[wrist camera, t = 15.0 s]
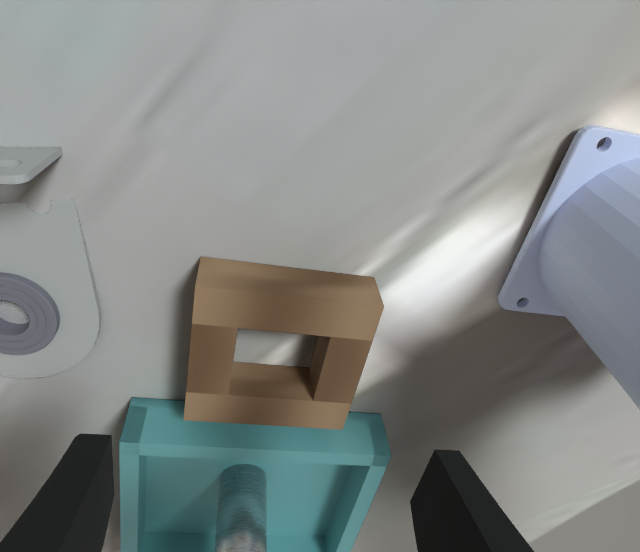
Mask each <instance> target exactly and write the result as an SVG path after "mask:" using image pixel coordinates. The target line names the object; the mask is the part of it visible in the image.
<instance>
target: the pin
mask: <svg viewBox="0 0 640 552" xmlns="http://www.w3.org/2000/svg"><path fill="white" fill-rule="evenodd" d="M214 552H267V494H266V474H265V472H264V471H263V470H262V469H261V468H259V467H257V466H255V465H250V464H238V465H234V466H231V467H229V468H227V469H226V470H224V471H223V472H222V474H221V476H220V486H219V498H218V511H217V523H216V536H215V548H214Z"/></svg>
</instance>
